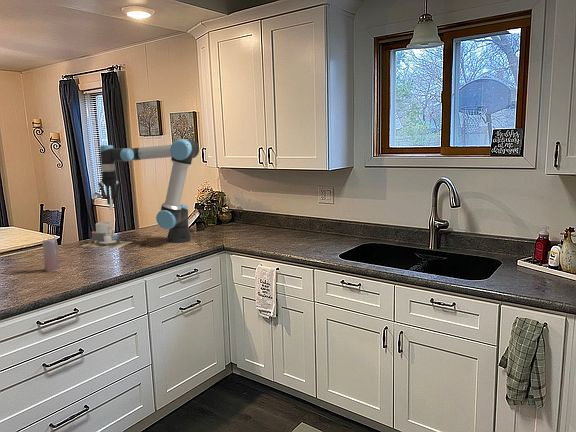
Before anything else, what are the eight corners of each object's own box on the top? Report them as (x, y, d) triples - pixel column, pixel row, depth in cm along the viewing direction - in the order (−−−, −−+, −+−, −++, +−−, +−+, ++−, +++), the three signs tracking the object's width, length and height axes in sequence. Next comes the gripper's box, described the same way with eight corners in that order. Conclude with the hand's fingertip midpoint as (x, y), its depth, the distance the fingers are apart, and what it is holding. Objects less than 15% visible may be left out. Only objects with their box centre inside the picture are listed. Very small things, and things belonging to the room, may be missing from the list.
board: (134, 243, 268) (133, 239, 268) (118, 250, 252) (118, 245, 251) (98, 241, 273) (97, 237, 272) (80, 248, 256) (80, 243, 256)
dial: (120, 242, 266) (119, 231, 264) (110, 246, 256) (109, 234, 255) (98, 241, 269) (97, 230, 268) (87, 244, 259) (87, 233, 258)
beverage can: (48, 268, 214) (45, 238, 212) (61, 268, 215) (58, 238, 212) (42, 272, 208) (39, 241, 206) (55, 271, 209) (53, 241, 206)
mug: (118, 238, 283) (117, 222, 281) (110, 241, 275) (109, 225, 273) (102, 237, 286) (101, 221, 284) (93, 239, 278) (92, 224, 276)
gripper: (118, 170, 271) (120, 207, 275) (95, 171, 264) (98, 209, 268) (121, 170, 265) (123, 209, 269) (98, 171, 258) (101, 211, 262)
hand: (111, 209), depth 268 cm, fingers closed
